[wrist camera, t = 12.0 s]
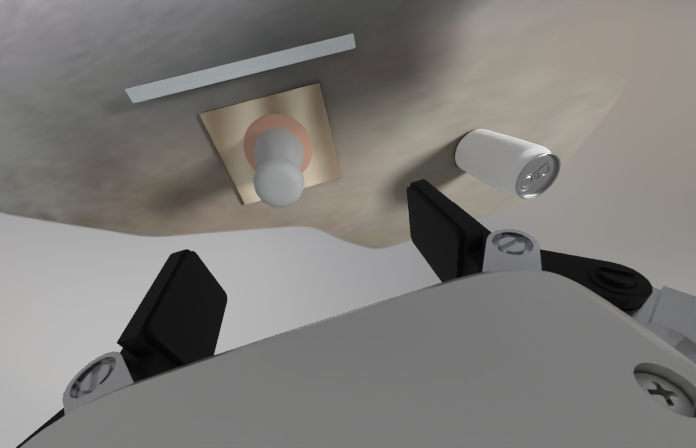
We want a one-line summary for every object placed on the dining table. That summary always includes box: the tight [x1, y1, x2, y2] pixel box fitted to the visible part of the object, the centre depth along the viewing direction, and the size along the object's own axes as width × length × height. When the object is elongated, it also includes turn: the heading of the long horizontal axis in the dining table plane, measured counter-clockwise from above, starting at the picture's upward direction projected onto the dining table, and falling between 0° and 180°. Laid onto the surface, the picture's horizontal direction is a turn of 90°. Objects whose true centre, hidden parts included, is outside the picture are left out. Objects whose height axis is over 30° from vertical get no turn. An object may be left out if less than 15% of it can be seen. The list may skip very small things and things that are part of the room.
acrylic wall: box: [124, 33, 356, 103], centre depth 26 cm, size 22×1×4 cm, turn 102°
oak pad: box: [199, 83, 342, 205], centre depth 32 cm, size 14×12×1 cm
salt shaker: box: [253, 128, 304, 208], centre depth 26 cm, size 6×6×13 cm
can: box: [455, 129, 561, 199], centre depth 34 cm, size 6×6×12 cm
